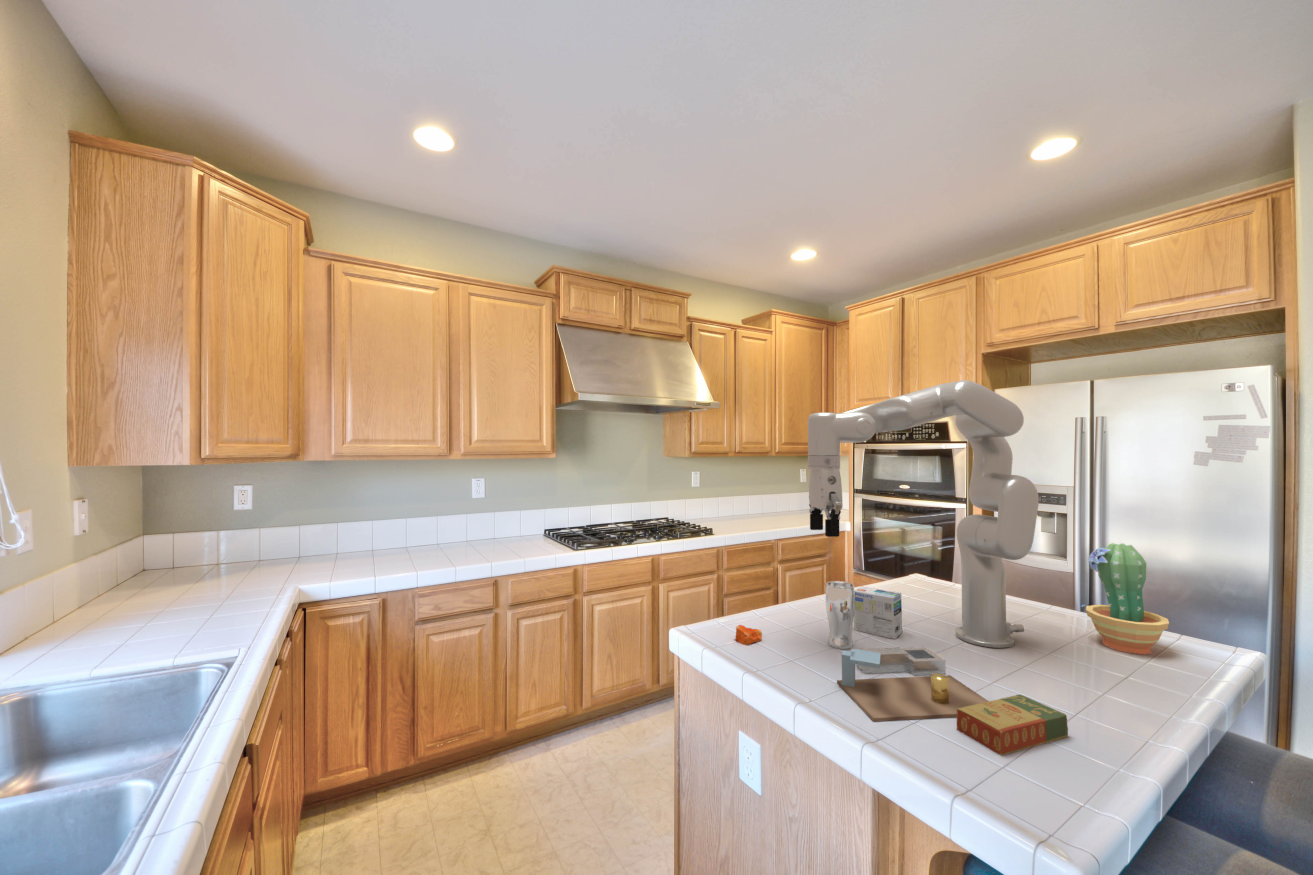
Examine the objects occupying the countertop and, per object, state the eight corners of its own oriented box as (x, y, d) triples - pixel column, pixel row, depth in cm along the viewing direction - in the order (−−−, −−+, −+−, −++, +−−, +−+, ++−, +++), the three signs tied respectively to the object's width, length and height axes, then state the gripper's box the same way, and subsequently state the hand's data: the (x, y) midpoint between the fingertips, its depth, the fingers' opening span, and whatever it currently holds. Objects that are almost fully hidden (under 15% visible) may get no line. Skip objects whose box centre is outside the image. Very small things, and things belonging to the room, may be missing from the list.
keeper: (880, 686, 106) (880, 652, 106) (880, 699, 100) (879, 664, 100) (843, 679, 109) (843, 647, 109) (841, 691, 103) (840, 657, 103)
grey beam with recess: (925, 660, 118) (924, 642, 118) (945, 674, 111) (945, 655, 111) (853, 663, 117) (853, 645, 117) (869, 677, 110) (869, 658, 110)
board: (950, 678, 109) (950, 675, 109) (1003, 714, 94) (1003, 711, 94) (837, 683, 107) (836, 680, 107) (873, 721, 92) (873, 718, 92)
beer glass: (851, 639, 131) (850, 581, 131) (859, 650, 124) (858, 588, 124) (823, 639, 132) (822, 580, 132) (829, 649, 125) (829, 587, 125)
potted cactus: (1097, 631, 136) (1096, 536, 137) (1179, 650, 124) (1176, 546, 124) (1075, 643, 128) (1073, 543, 128) (1160, 665, 115) (1157, 553, 116)
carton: (955, 731, 90) (955, 706, 90) (1020, 715, 95) (1019, 691, 95) (1001, 758, 82) (1001, 730, 82) (1069, 738, 87) (1068, 713, 87)
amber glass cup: (942, 696, 100) (942, 672, 100) (952, 703, 97) (952, 679, 97) (927, 696, 100) (927, 673, 100) (937, 704, 97) (937, 680, 97)
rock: (782, 645, 129) (782, 628, 129) (747, 656, 123) (747, 638, 123) (749, 631, 139) (749, 615, 139) (715, 640, 132) (714, 624, 132)
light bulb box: (903, 632, 136) (902, 591, 136) (895, 640, 131) (894, 597, 131) (862, 623, 143) (861, 584, 143) (853, 630, 138) (852, 590, 138)
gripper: (854, 464, 117) (855, 539, 117) (824, 462, 135) (825, 527, 134) (822, 464, 117) (823, 539, 116) (796, 462, 134) (797, 527, 134)
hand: (824, 532), depth 125 cm, fingers open, 9 cm apart
